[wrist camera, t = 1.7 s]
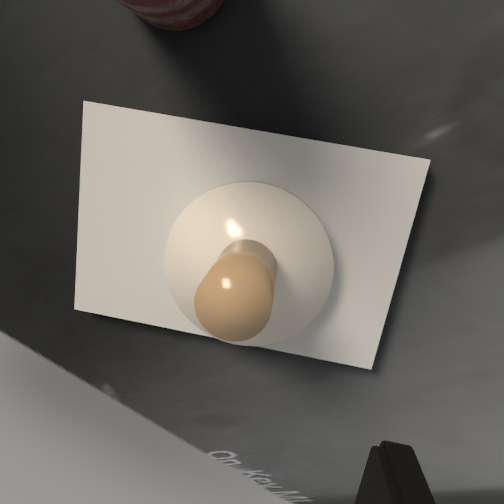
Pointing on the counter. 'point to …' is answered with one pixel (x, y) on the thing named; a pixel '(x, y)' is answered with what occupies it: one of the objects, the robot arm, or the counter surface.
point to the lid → (249, 263)
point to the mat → (223, 172)
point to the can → (173, 12)
